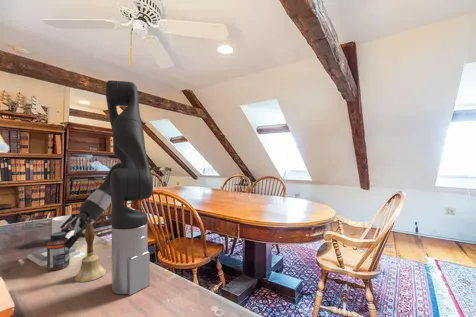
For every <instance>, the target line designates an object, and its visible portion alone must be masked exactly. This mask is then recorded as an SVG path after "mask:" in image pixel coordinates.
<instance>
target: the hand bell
mask: <svg viewBox="0 0 476 317" xmlns="http://www.w3.org/2000/svg"><path fill="white" fill-rule="evenodd" d="M95 232H96V231H95V229H94V226H92V223H89V224H87V227H86V230H85V232H84V233H85V237H84V239H85V243H86V256H85V257H83V258H82V260H81V263H80V264H81V266H80V269H79V271H78V273H77V274H76V275H75V276H74V281H75V282H78V283H86V282H93V281H96V280H98V279H101V278H102V277H104V276H105V274H106V273H107V270H106V269H105V268H104V267H103V266H102V264H101V262H100V257H99V256H98V255H96V254H94V240H95V236H96V235H95Z"/></svg>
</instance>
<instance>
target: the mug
mask: <svg viewBox="0 0 476 317" xmlns="http://www.w3.org/2000/svg"><path fill="white" fill-rule="evenodd" d="M70 216H71V215H62V216H55V217H53V218H52V219H51V234H52V233H56V232H60V231H61V228H60V227H61V226H62V224H63V223H64V222H65V221H66V220H67V219H68V218H69V217H70ZM65 226H66V225H65ZM68 230H69V229H68ZM74 231H75V230H74ZM74 231H71V232H69V233H68V234H67V235H66V236H65V237H66V238H68V239H69V238H70V237H71V236H72V235H73V233H74ZM73 236H74V235H73Z"/></svg>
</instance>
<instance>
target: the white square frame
mask: <svg viewBox="0 0 476 317" xmlns="http://www.w3.org/2000/svg"><path fill="white" fill-rule="evenodd" d="M80 252H81V251H80V250H78V249H76V248H75V247H73V246H72V247H71V248H69V258H72V257H74V256H78V255H80ZM27 259H28V260H30V261H32V263H34V264H37V265H38V266H40V267H43V266H47V247H45V248H40V249H39V250H34V251H32V252H31V254H28V255H27Z"/></svg>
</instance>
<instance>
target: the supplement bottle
mask: <svg viewBox="0 0 476 317" xmlns="http://www.w3.org/2000/svg"><path fill="white" fill-rule="evenodd" d="M65 236H66V233H65V232H56V233H52V232H51V234H50V240H48V242H46V248H47V264H46V266H47V270H48V271H52V272H53V271H59V270H63V269H65V268H67V267H68V266H69V265H70V257H69V248H67V247H65V246H64V244H65V243H66V241H67V240H68V238H66V237H65Z"/></svg>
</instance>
